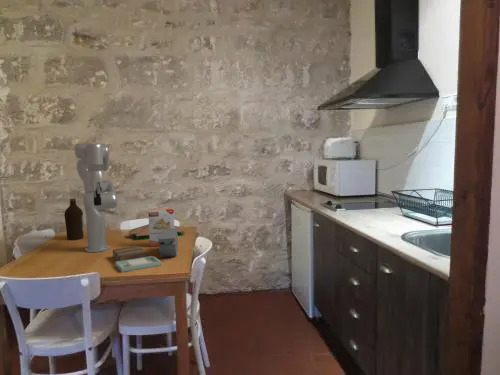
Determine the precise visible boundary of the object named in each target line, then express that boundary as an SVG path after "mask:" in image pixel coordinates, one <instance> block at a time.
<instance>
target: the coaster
mask: <svg viewBox="0 0 500 375" xmlns="http://www.w3.org/2000/svg"><path fill="white" fill-rule="evenodd" d="M146 263H149V262H148V261H147V260H146V259H144V258H141V259H135V260H129V261H127V266H128V267H129V266H134V265H140V264H146Z"/></svg>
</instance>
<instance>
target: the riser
mask: <svg viewBox="0 0 500 375" xmlns="http://www.w3.org/2000/svg"><path fill="white" fill-rule="evenodd" d="M148 256H149V255H148V251H146V250H145V249H143V248H142V247H141V246H140V245H134V246H127V247H121V248H115V249H112V258H113V259H114V260H116V261H115V262H117V261H124V260H130V259H136V258H142V257H148Z"/></svg>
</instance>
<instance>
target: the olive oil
mask: <svg viewBox="0 0 500 375" xmlns="http://www.w3.org/2000/svg"><path fill="white" fill-rule="evenodd" d="M63 217H64V222H65V230H66V231H65V233H66V239H67V240H68V241H77V240H82V239H83V238H84V212H83V210H82V208H80V207H79V206H78V205H77V201H76V198H69V206H68V207H67V208H66V209H65V211H64V215H63Z"/></svg>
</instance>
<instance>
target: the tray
mask: <svg viewBox="0 0 500 375" xmlns="http://www.w3.org/2000/svg"><path fill="white" fill-rule="evenodd" d="M142 258H144V259H146V260H147V261H148V262H149V263H146V264H140V265H134V266H129V267H128V266H127V261H129V260H124V261H115V262H114V263H115V267H116V268H117V269H118V270H119V271H120V272H121V273H126V272H133V271H137V270H138V271H139V270H143V269H150V268H154V267H159V266H160V267H161V266H162V261H161V260H160V259H158V258H157V257H156V256H154V255H148V257H142ZM136 259H141V258H136ZM130 260H135V259H130Z"/></svg>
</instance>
